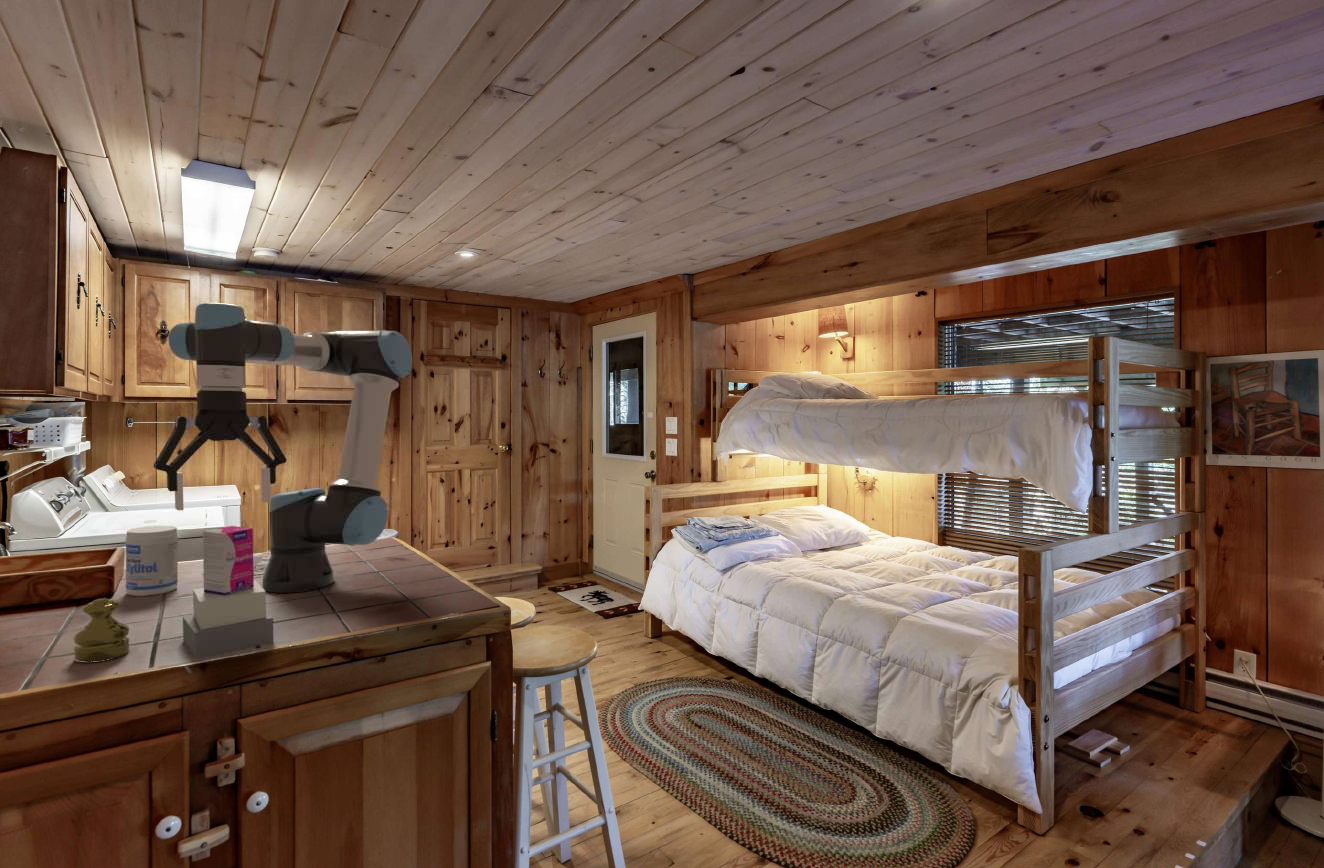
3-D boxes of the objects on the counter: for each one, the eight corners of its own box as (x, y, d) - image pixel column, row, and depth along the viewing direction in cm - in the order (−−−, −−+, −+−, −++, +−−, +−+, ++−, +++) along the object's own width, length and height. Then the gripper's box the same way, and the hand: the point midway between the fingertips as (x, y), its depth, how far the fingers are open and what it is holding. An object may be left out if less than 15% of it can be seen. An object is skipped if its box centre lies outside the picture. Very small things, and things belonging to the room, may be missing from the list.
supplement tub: (119, 599, 147) (117, 533, 147) (134, 587, 156) (132, 526, 155) (172, 594, 151) (170, 531, 150) (183, 584, 160) (182, 523, 159)
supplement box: (226, 596, 119) (223, 533, 118) (202, 592, 121) (200, 530, 120) (255, 587, 124) (253, 527, 123) (232, 584, 126) (230, 524, 125)
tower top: (193, 615, 123) (192, 589, 123) (255, 604, 130) (255, 579, 129) (200, 629, 116) (199, 601, 115) (266, 617, 122) (265, 591, 122)
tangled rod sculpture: (190, 584, 165) (188, 568, 164) (216, 565, 179) (215, 551, 178) (275, 579, 168) (274, 563, 168) (294, 561, 182) (293, 546, 182)
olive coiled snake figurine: (90, 666, 110) (89, 608, 110) (64, 660, 113) (62, 602, 113) (139, 651, 117) (138, 596, 117) (113, 645, 120) (111, 591, 119)
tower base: (183, 642, 123) (182, 616, 123) (257, 627, 131) (256, 603, 131) (195, 661, 114) (194, 632, 114) (273, 644, 123) (273, 617, 122)
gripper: (138, 388, 109) (142, 515, 110) (303, 390, 126) (305, 500, 128) (131, 388, 114) (135, 510, 115) (290, 390, 132) (292, 496, 133)
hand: (224, 505), depth 121 cm, fingers open, 13 cm apart
